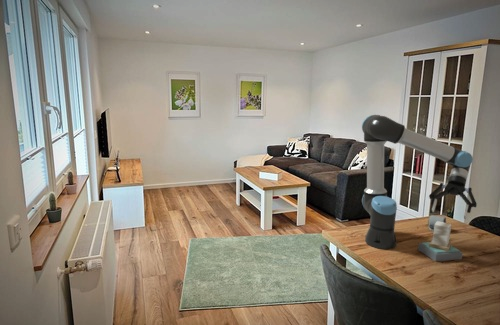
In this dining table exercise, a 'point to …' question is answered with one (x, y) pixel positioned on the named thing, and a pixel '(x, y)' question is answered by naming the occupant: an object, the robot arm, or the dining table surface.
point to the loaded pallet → (441, 236)
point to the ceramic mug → (434, 219)
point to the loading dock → (439, 252)
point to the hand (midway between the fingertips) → (448, 214)
